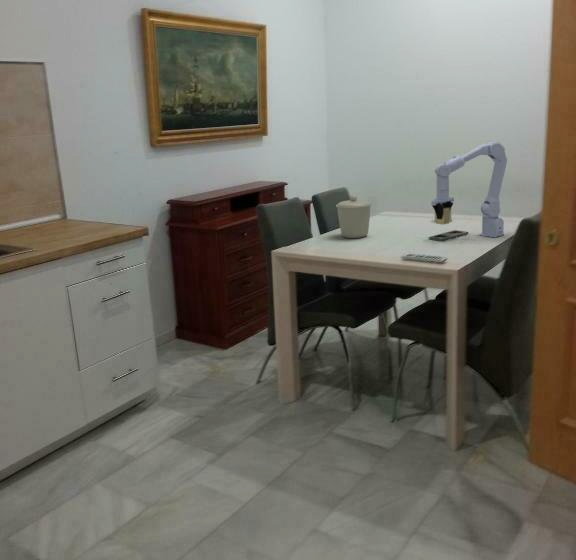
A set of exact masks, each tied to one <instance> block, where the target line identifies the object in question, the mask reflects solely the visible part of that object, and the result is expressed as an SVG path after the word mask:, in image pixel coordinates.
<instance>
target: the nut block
mask: <svg viewBox="0 0 576 560" xmlns="http://www.w3.org/2000/svg"><path fill="white" fill-rule="evenodd" d="M449 218H450V208H449V207H443V211H442V219H437V216H436V222H435V224H436V225H447V224H450V222H449Z"/></svg>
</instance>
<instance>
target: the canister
mask: <svg viewBox="0 0 576 560" xmlns="http://www.w3.org/2000/svg"><path fill="white" fill-rule="evenodd" d="M372 205H373V203H371V202H370V201H369V200H363V199H358V197H357V195H354V194H353V195H350V196H349V199H348V200H343V201H339V202H338V203H337V204H336V205H335V207H336V209H337V216H338V222H339V223H338V224H339V228H340V233H341V235H342V237H344V238H347V239H360V238H361V239H362V238H364V237H366V236H367V235H368V234H369V228H370V219H371V218H370V216H371V206H372Z"/></svg>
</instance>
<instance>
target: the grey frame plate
mask: <svg viewBox="0 0 576 560" xmlns="http://www.w3.org/2000/svg"><path fill="white" fill-rule="evenodd" d="M458 233H459V234H458ZM467 234H468V235H469V231H465V230H464V231H463V230H456V229H454V230H449V231H446V232H442V233H439V234H438V233H437V234H436V235H431V236H428V240H430V241H437V242H447V241H448V240H454V239H456V237H457V238H460V236H461V237H464V236H468V235H467ZM463 235H464V236H463Z"/></svg>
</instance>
